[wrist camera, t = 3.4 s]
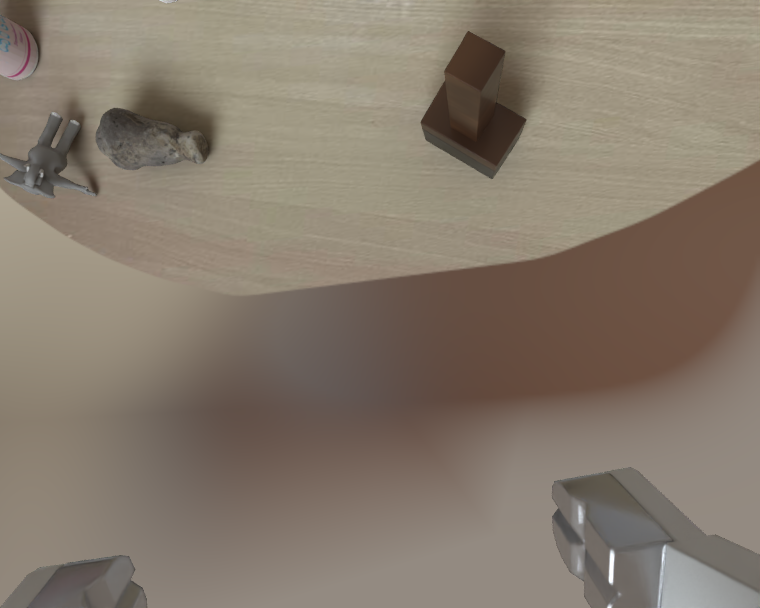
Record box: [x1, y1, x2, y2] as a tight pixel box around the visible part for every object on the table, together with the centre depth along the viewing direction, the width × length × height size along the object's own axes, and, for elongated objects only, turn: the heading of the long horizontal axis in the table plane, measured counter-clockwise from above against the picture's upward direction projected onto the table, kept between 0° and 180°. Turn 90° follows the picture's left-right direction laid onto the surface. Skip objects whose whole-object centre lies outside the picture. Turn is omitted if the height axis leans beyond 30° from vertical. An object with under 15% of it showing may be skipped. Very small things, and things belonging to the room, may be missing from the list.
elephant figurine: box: [0, 112, 97, 198], centre depth 41 cm, size 10×6×9 cm
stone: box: [96, 108, 208, 170], centre depth 39 cm, size 10×5×8 cm
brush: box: [421, 31, 526, 179], centre depth 28 cm, size 7×4×14 cm, turn 58°
